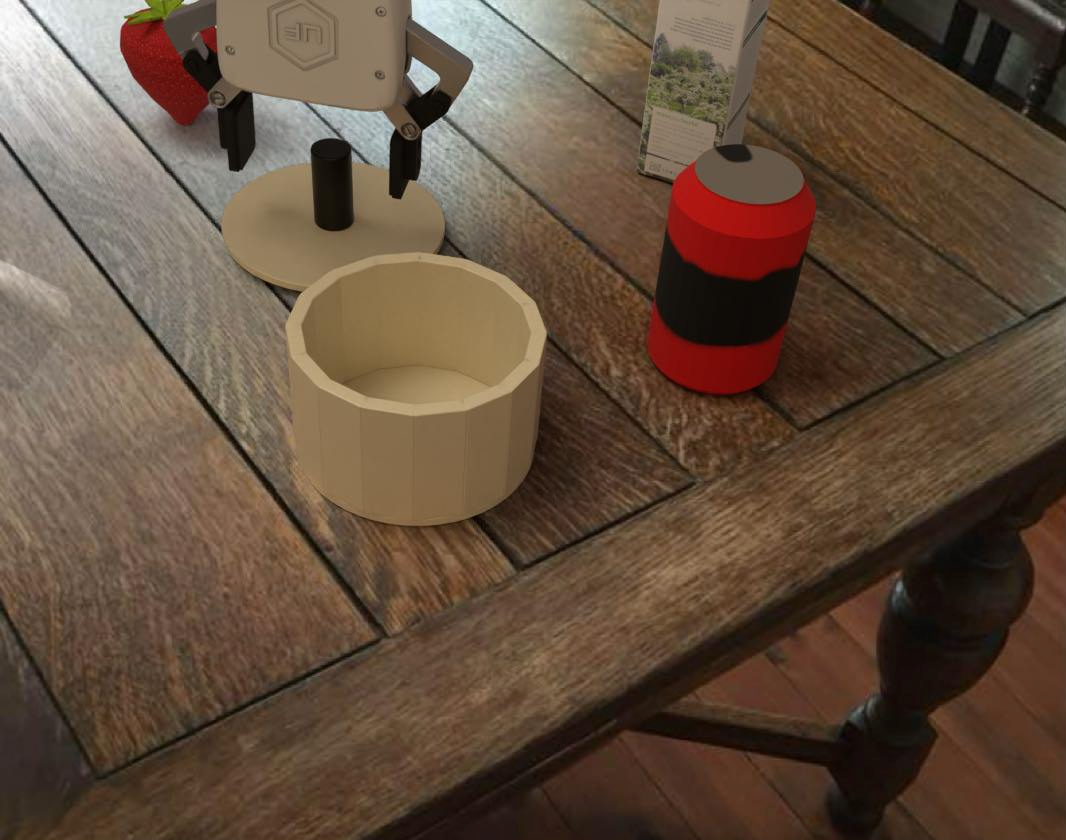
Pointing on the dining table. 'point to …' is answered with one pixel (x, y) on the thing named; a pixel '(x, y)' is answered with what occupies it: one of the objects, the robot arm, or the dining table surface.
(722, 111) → the syrup box
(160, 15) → the strawberry
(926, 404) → the dining table surface
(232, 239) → the lid
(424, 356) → the pot
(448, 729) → the dining table surface
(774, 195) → the soda can
